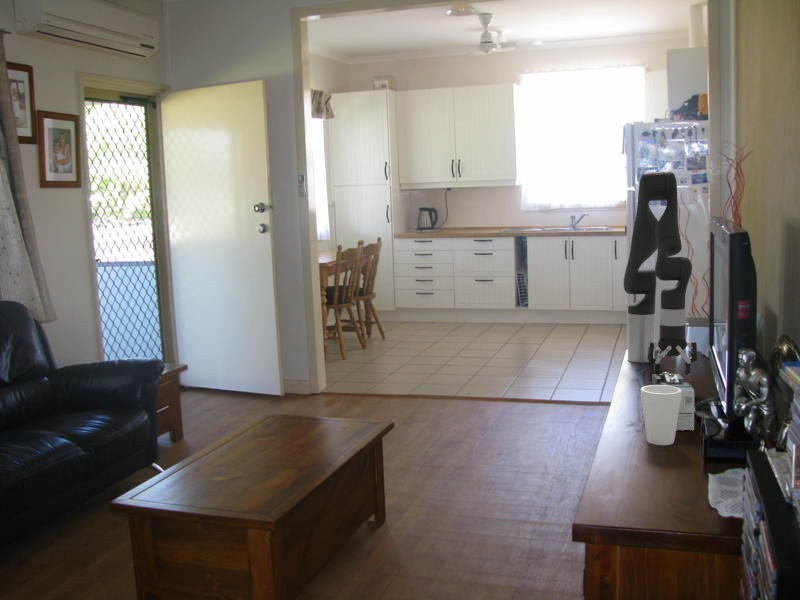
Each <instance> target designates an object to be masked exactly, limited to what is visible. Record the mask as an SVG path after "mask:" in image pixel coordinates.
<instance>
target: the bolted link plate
mask: <svg viewBox="0 0 800 600" xmlns="http://www.w3.org/2000/svg"><path fill="white" fill-rule="evenodd" d="M674 374H675V373H669V374H668V375H665V383H666V384H667V385H679V381H678V378H677V375H674Z"/></svg>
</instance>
